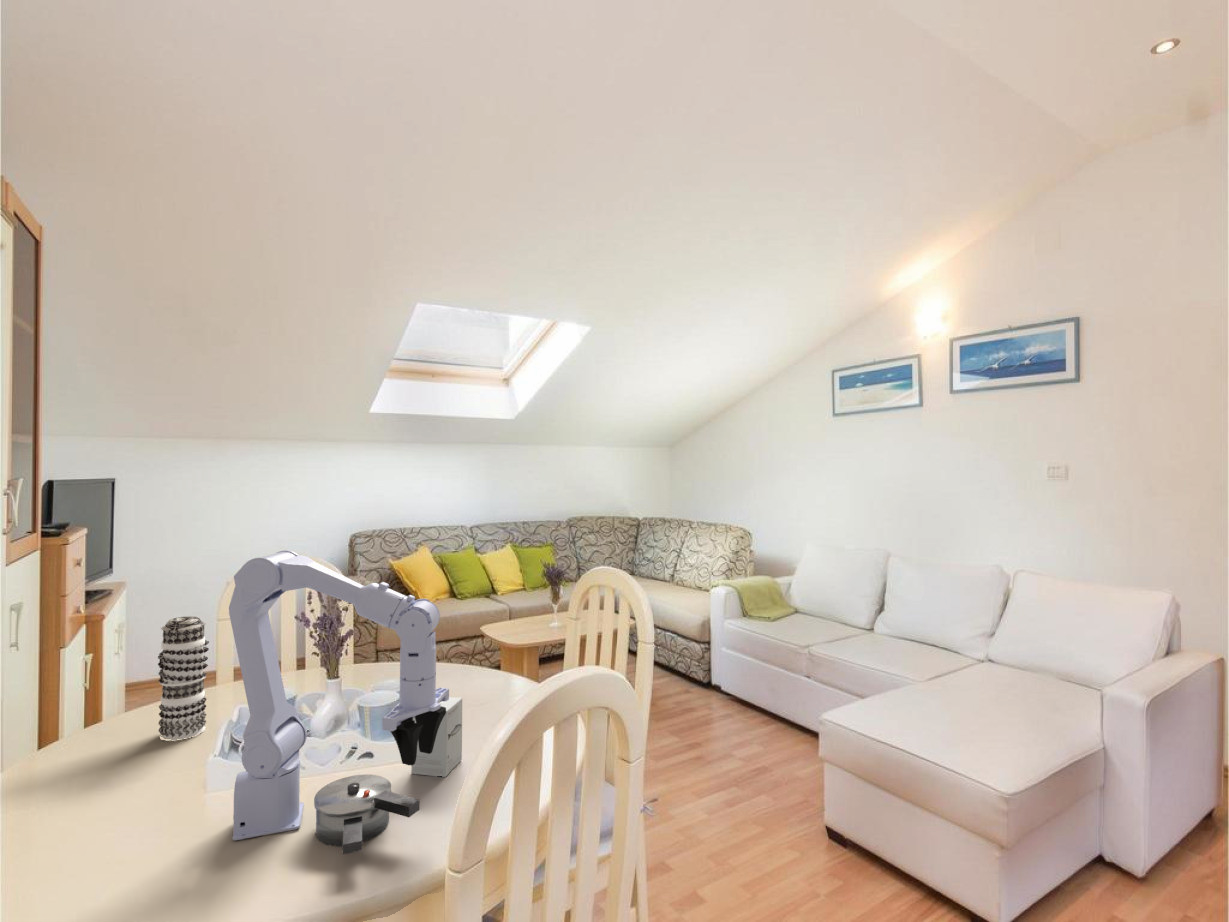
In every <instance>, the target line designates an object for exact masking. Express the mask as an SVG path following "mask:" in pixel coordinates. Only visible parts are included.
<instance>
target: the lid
mask: <svg viewBox="0 0 1229 922" xmlns="http://www.w3.org/2000/svg"><path fill="white" fill-rule="evenodd" d="M313 799H314V800H313V802H314V806H313V807H314V809H315V811H316V810H317V811H318V812H320V813H322V814H324V815H328V816H349V815H355V814H359V813H363V812H366V811H369V810H371V809H374V808H377V809H380V810H384V811H387V812H389V813H392V814H395V815H398V816H402V817H405V818H411V817H412V816H413V815H414V814H416V813H417V812H419V811H420V809H421V808H420V807H421V806H420V804H421V803H420V802H421V799H419V798H415V797H412V796H407V795H404V794H401V793H396V792H393V791H392V783H391V781H390V780H389V779H387V778H386V777H384V776H381V775H377V774H357V775H350V776H345V777H342V778H340V779H339V778H338V779H336V780H333V781H332V782H330V783H328V784H326V785H324V786H323V787H321V788H320V789H319V790H318V791H317V792H316V793H315V796H314V798H313Z"/></svg>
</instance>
